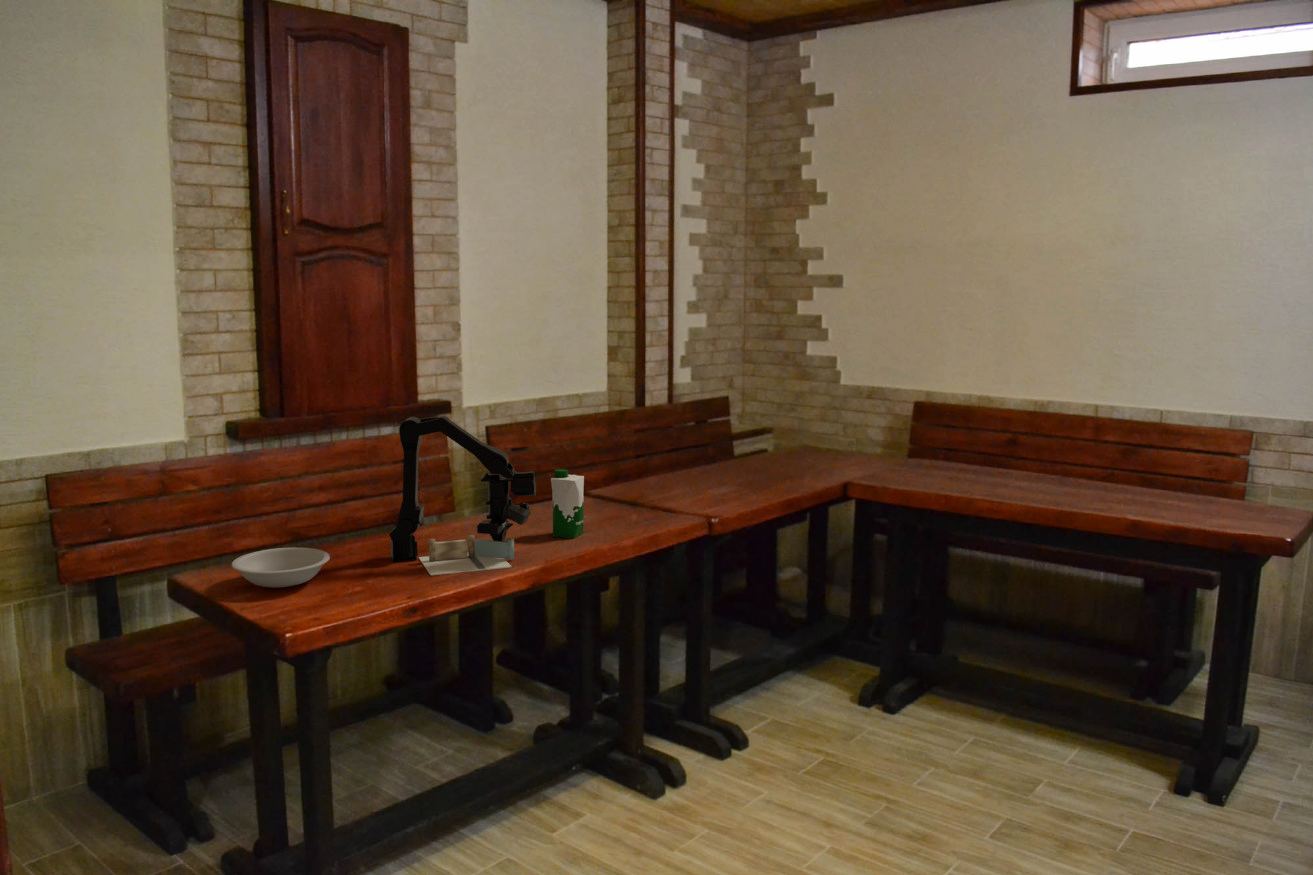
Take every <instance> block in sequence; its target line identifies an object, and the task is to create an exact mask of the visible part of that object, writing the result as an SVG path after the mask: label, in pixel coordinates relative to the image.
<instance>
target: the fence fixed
mask: <svg viewBox="0 0 1313 875" xmlns="http://www.w3.org/2000/svg"><path fill="white" fill-rule="evenodd" d="M475 540H476V539H475V535H473V534H471V535H468V536H467V539H457V540H447V541H436V539H435V538H429V539H428V556H429V561H437V560H447V559H457V558H468V554H469V557H475Z"/></svg>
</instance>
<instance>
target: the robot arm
mask: <svg viewBox="0 0 1313 875" xmlns="http://www.w3.org/2000/svg"><path fill="white" fill-rule="evenodd" d="M398 433H399V439H400V443H401V447H402V450H403V462H402V463H403V465H402V467H403V469H402V500H401V501H402V502H401V505H400V509H399V512H398V518H397V522H396V525H395V526H394V528H393V529H392V530H391V531H390V532H389V538H390V550H391V553H390V555H389V556H390V559H391V561H392V562H393V563H396V562H397V563H399V562H400V563H401V562H409V561H417V560H418V555H419V554H418V552H419V551H418V542H417V540H416V537H415V535H414V533H415V532H416V531H417V530H418V528H419V527H420V526H421V525H422V523H423V521H424V520H425V516H424V511H425V505H423V504H422V505H420V503H419V498H418V497H419V496H418V493H419V490H418V489H419V456H420V455H419V454H420V449H421V448H420V447H421V444H422V439H423V436H425V435H430V434H434V433H442V434H444V436H446V437H448V438H449V439H450V440H452V441H453V442H455V443H456V444H458V445H459V446H460V447H462V448H463V449H465V450H467V451H468V452H469V453H470V454H472V455H473V456H475V457H476V459H477V460H478V461H479V463H480V464H481V465H482V466H484V468H485V469H487V471H486V472H485V474H484V475H483V476H481V479H480V482H482V483H483V482H485V483H487V488H488V490H487V492H488V495H487V497H488V499H487V500H486V501H485V505H486V506H488V514H487V515H486V516H485V517H486V519H484V520H482V521H481V522H479V523H478V524H477V525H476V533H477V534H483V535H489V536H491V540H493V541H506V536H507V534H508V531H509V530H510V529H511V527H512V526H514V523H510V521H512V522H515V523H516V525H517V524H518V525H520V526H522V525H525V523H527V522H528V519H529V516H530V515H531V510H530V504H529V503H526V502H523V503H522V504H520V505H519V504H517V505H516V504H514V503H513V502H514V501H513V499H512V497H510V493H512V495H514V496H515V497H536V495H537V493H536V491H537V490H536V489H537V481H536V477H535V471H525V472H524V471H523V472H522V471H518V472H517V470H516V469H515V467H514V466H513V465H512V463H511V462H510V459H509V455H508V454H507V453H506V451H503V450H502V449H499V448H497V447H495V446H492V445H491V444H490V445H489V444H487V443H485V442H483V441H481V440H480V439H478V438H477V437H475V436H474V435H473V434H471V433H470V432H468V431H467V430H465V429H464V428H463V427H461V426H459V425H458V424H457V423H455V422H454V421H452V419H451V418H449V417H448V416H447V415H439V416H437V417H436V416H434V417H425V418H419V417H417V416H410V417H408V418H407V419H405V420H404V421H403V422H402V423H401V424H400V425H399V428H398ZM509 484H510V486H509ZM509 488H510V489H509ZM509 520H510V521H509Z"/></svg>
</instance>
